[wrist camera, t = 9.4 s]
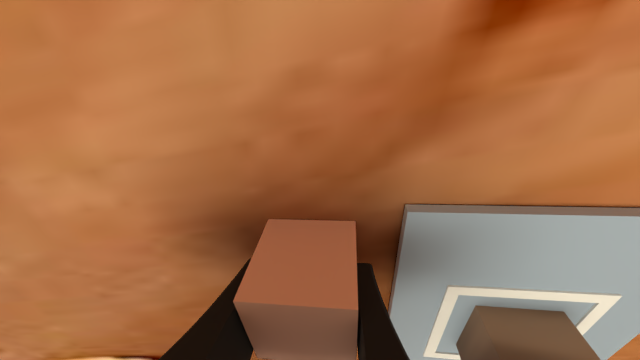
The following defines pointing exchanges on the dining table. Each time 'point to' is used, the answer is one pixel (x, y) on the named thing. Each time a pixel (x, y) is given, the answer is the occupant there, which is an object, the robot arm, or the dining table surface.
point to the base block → (521, 336)
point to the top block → (302, 291)
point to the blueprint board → (515, 271)
